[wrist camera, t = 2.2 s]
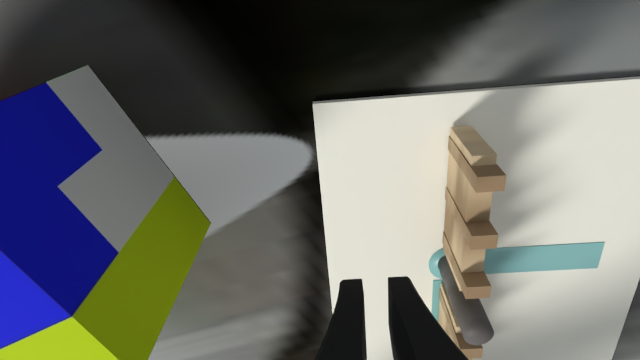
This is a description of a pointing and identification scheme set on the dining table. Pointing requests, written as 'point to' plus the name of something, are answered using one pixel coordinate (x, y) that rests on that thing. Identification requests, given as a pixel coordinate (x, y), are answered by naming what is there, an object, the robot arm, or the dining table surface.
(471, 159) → the fence panel
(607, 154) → the mat
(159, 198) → the puzzle toy
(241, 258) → the dining table surface
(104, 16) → the dining table surface
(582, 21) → the dining table surface
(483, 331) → the fence fixed panel
